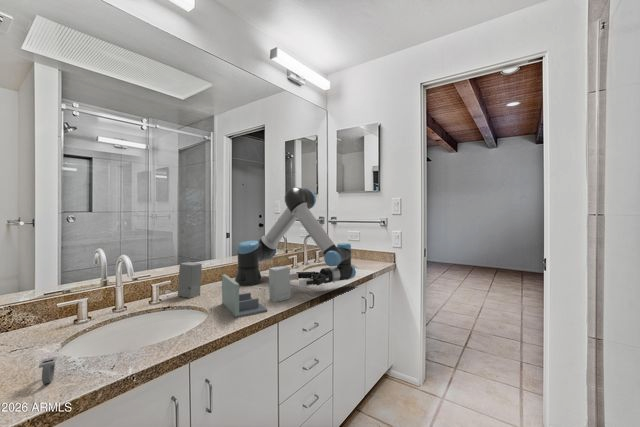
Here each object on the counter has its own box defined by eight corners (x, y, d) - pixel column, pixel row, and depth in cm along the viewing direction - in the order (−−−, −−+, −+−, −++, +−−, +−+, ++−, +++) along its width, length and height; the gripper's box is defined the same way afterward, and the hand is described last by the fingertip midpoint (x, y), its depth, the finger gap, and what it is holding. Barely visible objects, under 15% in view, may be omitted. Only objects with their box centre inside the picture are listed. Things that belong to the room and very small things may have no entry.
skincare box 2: (284, 296, 135) (283, 265, 135) (290, 299, 131) (290, 267, 131) (268, 299, 130) (268, 267, 130) (275, 302, 125) (275, 269, 125)
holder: (222, 303, 124) (222, 274, 124) (250, 298, 131) (250, 271, 131) (235, 318, 107) (235, 284, 107) (267, 311, 114) (267, 279, 114)
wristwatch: (43, 377, 69) (43, 356, 69) (58, 373, 71) (58, 353, 71) (37, 390, 64) (36, 368, 64) (53, 385, 66) (53, 364, 65)
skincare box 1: (177, 296, 134) (177, 263, 134) (189, 292, 141) (189, 261, 141) (190, 298, 131) (190, 264, 131) (202, 294, 138) (202, 262, 138)
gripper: (344, 287, 135) (306, 294, 123) (316, 277, 155) (281, 282, 144) (344, 272, 135) (306, 277, 123) (316, 264, 155) (281, 268, 144)
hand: (292, 280), depth 133 cm, fingers open, 13 cm apart
